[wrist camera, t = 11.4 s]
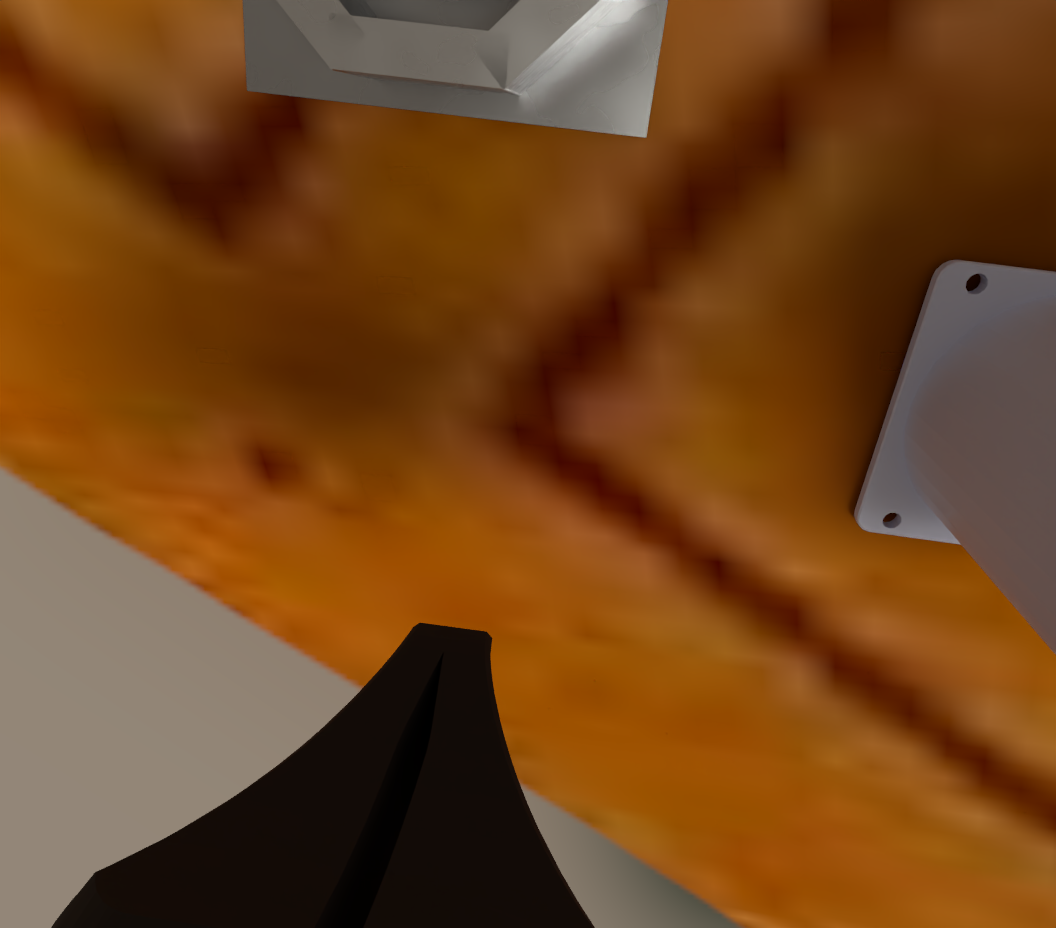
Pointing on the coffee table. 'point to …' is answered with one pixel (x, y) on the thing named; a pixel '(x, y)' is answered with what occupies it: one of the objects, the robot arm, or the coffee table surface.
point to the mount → (465, 57)
